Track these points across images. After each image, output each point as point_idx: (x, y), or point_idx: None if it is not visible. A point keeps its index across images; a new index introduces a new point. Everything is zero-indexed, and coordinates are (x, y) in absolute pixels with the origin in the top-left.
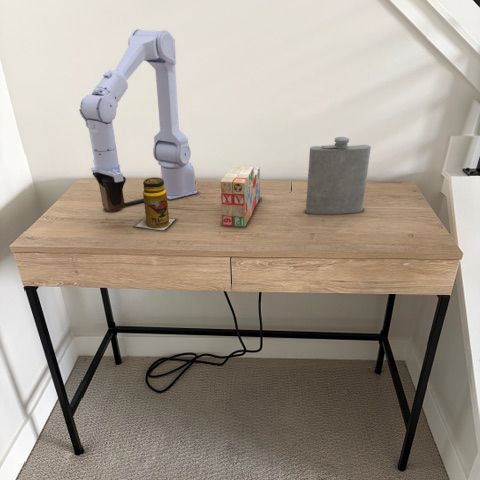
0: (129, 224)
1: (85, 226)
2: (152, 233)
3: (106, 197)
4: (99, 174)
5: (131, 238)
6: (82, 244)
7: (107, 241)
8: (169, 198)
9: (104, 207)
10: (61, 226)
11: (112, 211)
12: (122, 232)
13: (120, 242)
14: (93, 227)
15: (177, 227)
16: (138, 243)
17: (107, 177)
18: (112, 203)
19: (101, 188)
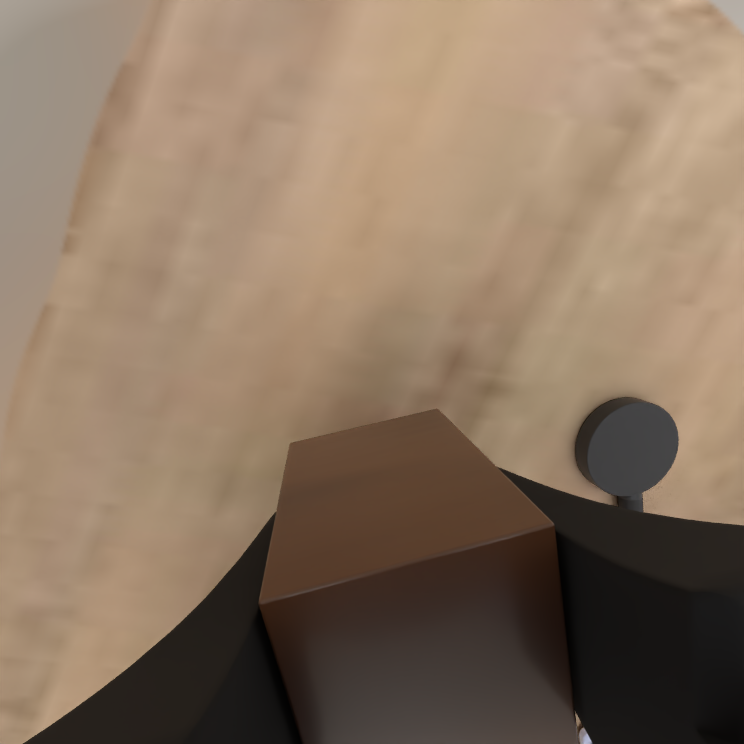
0: None
1: (446, 245)
2: (183, 598)
3: (283, 509)
4: (714, 702)
5: (152, 483)
6: (161, 174)
7: (155, 341)
8: (585, 734)
9: (638, 403)
10: (517, 86)
11: (580, 437)
12: (261, 446)
13: (112, 414)
14: (408, 291)
15: None
16: (62, 510)
17: (626, 730)
18: (270, 519)
19: (440, 517)
